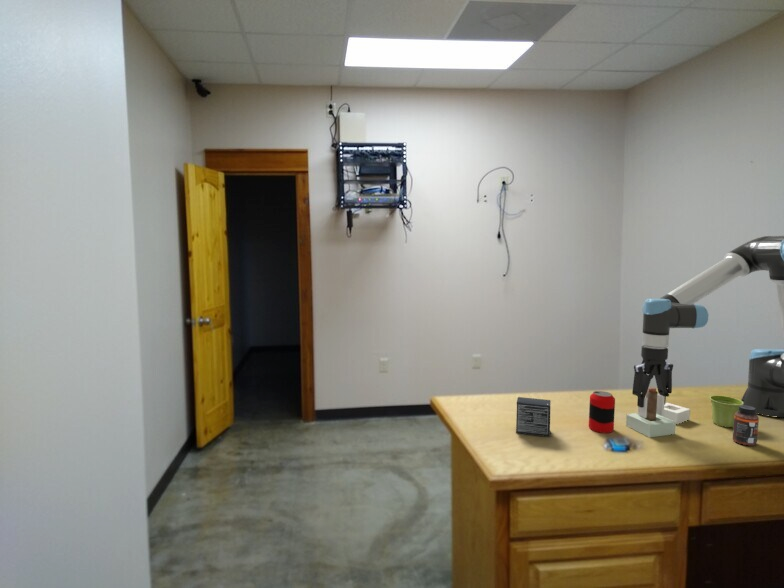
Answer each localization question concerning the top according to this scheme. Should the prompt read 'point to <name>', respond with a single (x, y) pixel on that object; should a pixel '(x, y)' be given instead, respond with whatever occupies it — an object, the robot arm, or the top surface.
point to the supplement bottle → (745, 426)
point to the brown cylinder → (651, 404)
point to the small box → (533, 416)
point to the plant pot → (724, 409)
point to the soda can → (601, 412)
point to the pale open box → (651, 425)
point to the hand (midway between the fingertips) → (650, 415)
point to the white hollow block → (676, 413)
